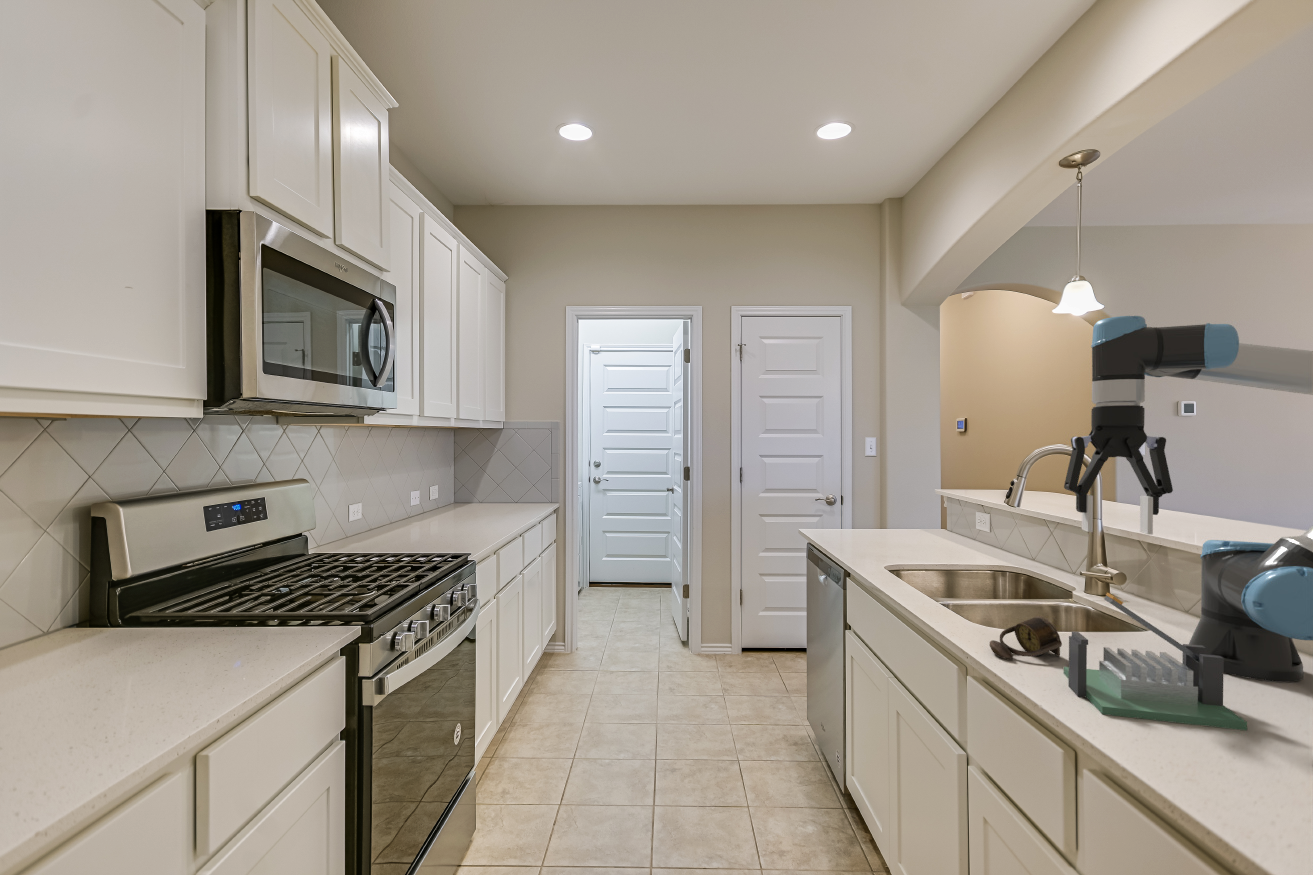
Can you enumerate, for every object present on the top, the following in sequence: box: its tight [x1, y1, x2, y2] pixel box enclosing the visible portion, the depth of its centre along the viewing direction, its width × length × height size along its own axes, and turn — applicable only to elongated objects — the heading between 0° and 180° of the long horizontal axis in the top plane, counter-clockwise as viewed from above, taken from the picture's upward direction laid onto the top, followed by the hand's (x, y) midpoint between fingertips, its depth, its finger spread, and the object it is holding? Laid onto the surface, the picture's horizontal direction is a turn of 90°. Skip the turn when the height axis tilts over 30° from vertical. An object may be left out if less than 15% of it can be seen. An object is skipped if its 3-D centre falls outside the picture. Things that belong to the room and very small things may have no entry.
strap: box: [1103, 592, 1199, 663], centre depth 97 cm, size 16×3×1 cm
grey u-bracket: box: [1181, 643, 1225, 706], centre depth 95 cm, size 3×6×7 cm, turn 164°
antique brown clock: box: [989, 615, 1063, 660], centre depth 117 cm, size 7×13×10 cm
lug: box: [1068, 631, 1089, 698], centre depth 100 cm, size 1×4×9 cm, turn 164°
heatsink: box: [1098, 646, 1198, 706], centre depth 97 cm, size 10×8×5 cm
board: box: [1063, 666, 1248, 731], centre depth 97 cm, size 18×16×1 cm
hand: (1116, 531), depth 108 cm, fingers open, 8 cm apart
